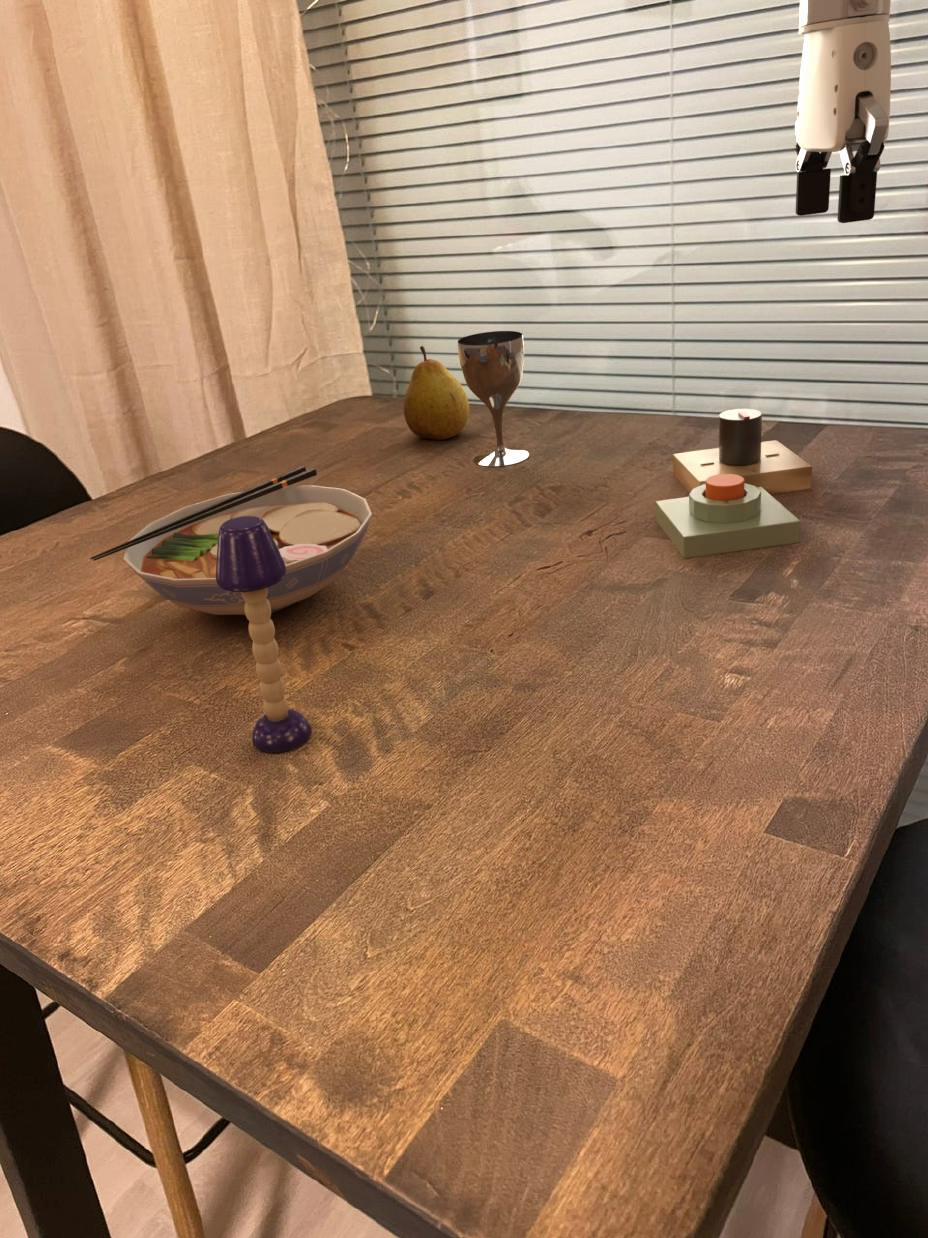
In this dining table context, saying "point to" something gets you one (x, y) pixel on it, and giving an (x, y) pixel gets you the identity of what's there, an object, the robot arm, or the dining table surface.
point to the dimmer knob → (740, 437)
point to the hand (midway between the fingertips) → (832, 217)
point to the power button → (725, 487)
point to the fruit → (435, 402)
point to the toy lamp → (260, 624)
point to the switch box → (726, 522)
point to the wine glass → (494, 383)
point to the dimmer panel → (747, 469)
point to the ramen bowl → (297, 519)
